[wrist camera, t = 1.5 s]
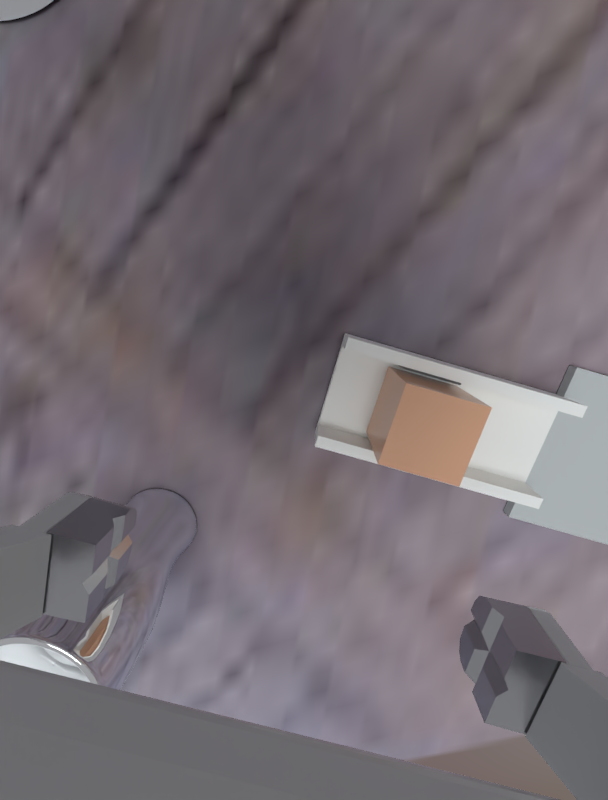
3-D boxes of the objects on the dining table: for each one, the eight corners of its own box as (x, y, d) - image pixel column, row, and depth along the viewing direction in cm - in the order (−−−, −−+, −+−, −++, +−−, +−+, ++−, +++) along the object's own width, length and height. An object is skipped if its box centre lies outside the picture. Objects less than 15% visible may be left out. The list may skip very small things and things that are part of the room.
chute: (344, 333, 28) (348, 337, 25) (556, 394, 29) (587, 406, 25) (315, 430, 30) (314, 446, 27) (514, 486, 31) (538, 509, 27)
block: (388, 366, 28) (406, 383, 22) (456, 385, 28) (491, 407, 22) (366, 431, 29) (377, 463, 23) (431, 449, 29) (459, 486, 23)
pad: (569, 365, 28) (577, 367, 27) (700, 403, 29) (712, 406, 28) (503, 510, 31) (508, 516, 30) (623, 544, 31) (631, 551, 31)
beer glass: (105, 494, 32) (-71, 652, 18) (185, 473, 32) (69, 620, 17) (137, 566, 34) (-1, 766, 19) (214, 548, 33) (130, 741, 18)
